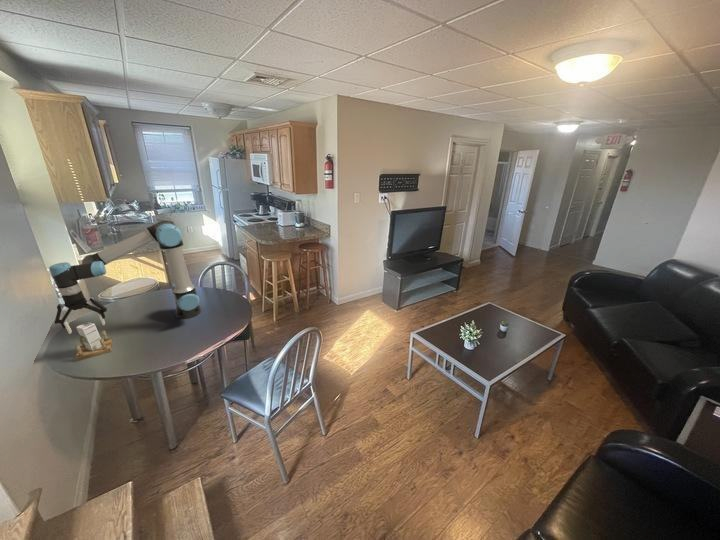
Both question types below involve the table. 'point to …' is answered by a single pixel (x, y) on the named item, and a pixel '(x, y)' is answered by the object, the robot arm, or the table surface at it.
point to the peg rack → (85, 353)
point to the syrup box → (89, 336)
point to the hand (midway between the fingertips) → (87, 328)
